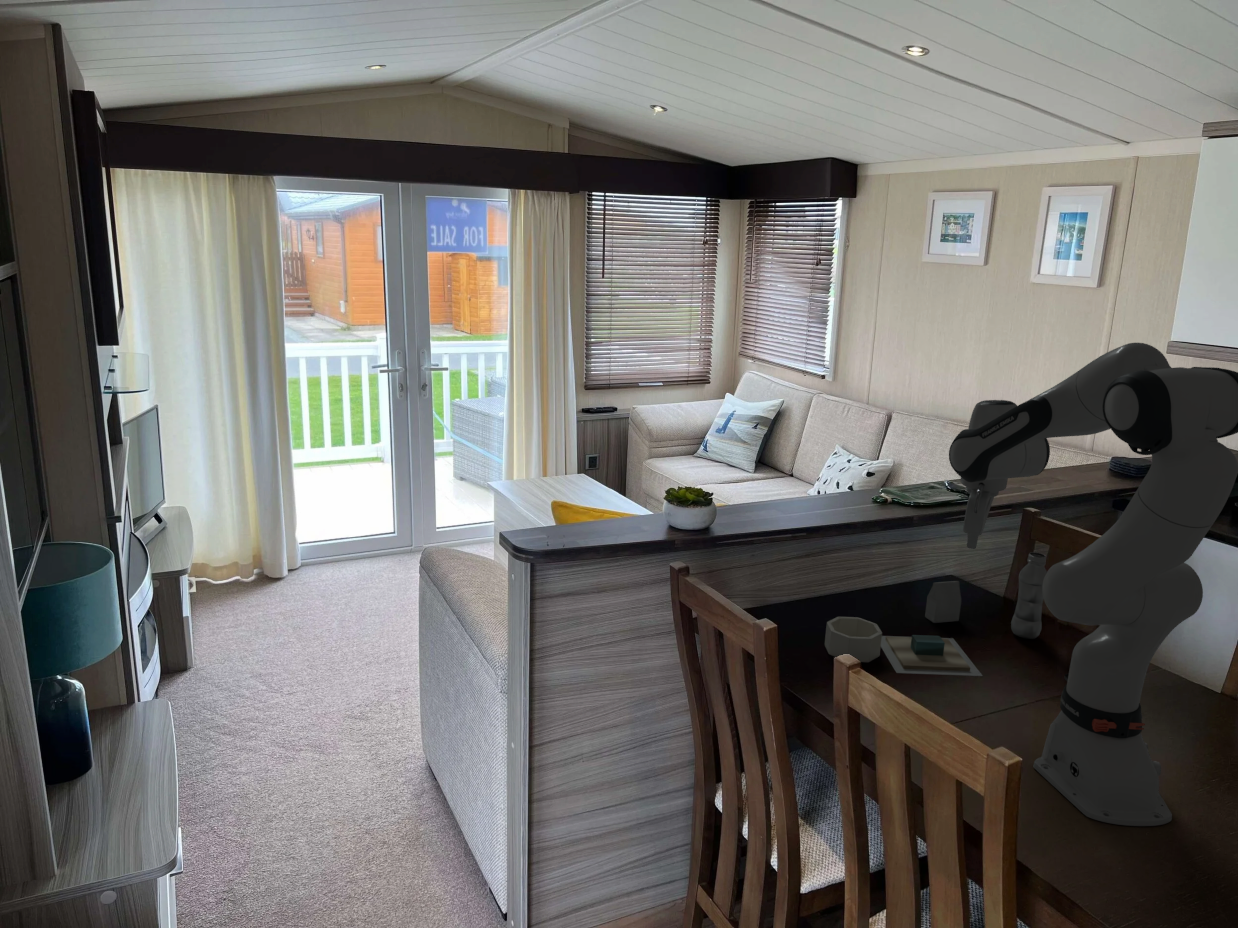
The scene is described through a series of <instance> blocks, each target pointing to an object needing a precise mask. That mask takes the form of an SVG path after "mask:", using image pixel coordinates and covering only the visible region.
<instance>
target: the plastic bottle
mask: <svg viewBox="0 0 1238 928" xmlns="http://www.w3.org/2000/svg"><path fill="white" fill-rule="evenodd" d="M1027 556H1028V557H1027V558H1026V559H1027V560H1026V561H1027V564H1026V565H1025V566H1024V567H1023V568H1022V569H1020V572H1019V573H1018V591H1017V592H1018V595H1017V602H1016V606H1015V610H1014V614H1013V616H1012V618H1011V622H1010V624H1011V625H1010V628H1011V631H1012V633H1013V634H1014V635H1015V636H1017V637H1019V638H1022V639H1026V640H1027V639H1028V640H1030V639H1031V640H1034V639H1036V638H1038V637H1039V636H1040V633H1041V632H1042V611H1043V604H1044V598H1043V593H1042V586H1043V580H1044V577H1045V575H1046V573H1047V571H1048V570H1047V569H1046V567H1045V566H1046V563H1047V562H1046V560H1047V555H1045V554H1044V553H1041V552H1037V551H1036V552H1035V551H1032V552H1031V551H1030V552H1029V553H1028V555H1027Z"/></svg>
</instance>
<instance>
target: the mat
mask: <svg viewBox="0 0 1238 928" xmlns="http://www.w3.org/2000/svg"><path fill="white" fill-rule="evenodd" d="M886 636H887V637H901V636H898V635H897V636H895V635H894V636H893V635H882V639H881V648H880V649H882V651H883V653H884V655H885V657H886V658H887V659H888V662H889V663H890V664H891V666H892V668H893V670H894V671H895V673H896V674H908V675H909V674H911V675H912V674H913V675H916V674H917V675H937V676H938V675H940V676H941V675H943V676H965V677H966V676H967V677H968V676H969V677H983V674H982V673H981V672H980V670H979V669H978V668H977V667H976V665H975V664H974V663H973V662H972V660H971V659H970V658H969V657H968V655H967V654H966V653H965V652H964V650H963V649H962V647H961V646H960V645H959V644H958V642H957V641H956V640H955V639H954V638H953V637H950V638H949V637H941V638H942V639H948V640H949V641H950V642H951V643H952V645H953V646H954V647H955V649H956V650H957V651H958V652H959V654H960V655H961V656H962V658H963V659H964V660H965V661H966V663H967V664H968V665H969V667H970V671H952V670H925V669H903V667H902V666H901V664H900V662H899V661H898V659H897V658H896V656H895V654H894V653H893V651H892V650H891V648H890V646H889V645H888V643H887V642H886V640H885V639H886Z"/></svg>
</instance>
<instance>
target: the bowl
mask: <svg viewBox="0 0 1238 928" xmlns="http://www.w3.org/2000/svg"><path fill="white" fill-rule="evenodd" d="M825 627H826V628H825V637H824V647H825V649H826V651H827V653H828V655H830V656H832V657H835V658H837V657H836V656H839V655H843V654H850V655H852V656H854V657H856V658H857V659H859V660H860V661H861V662H860V663H870V662H872V661H874V660H876V659H877V658H878V657H880V656H881V649H882V648H881V639H882V636H883V632H882V630H881V628H880V627H879V625H878V624H877V623H875V622H872V621H870V620H866V619H864V618H861V617H857V616H855V617H854V616H836V617H835V618H832V619H830V620H828V621H826V626H825Z"/></svg>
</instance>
